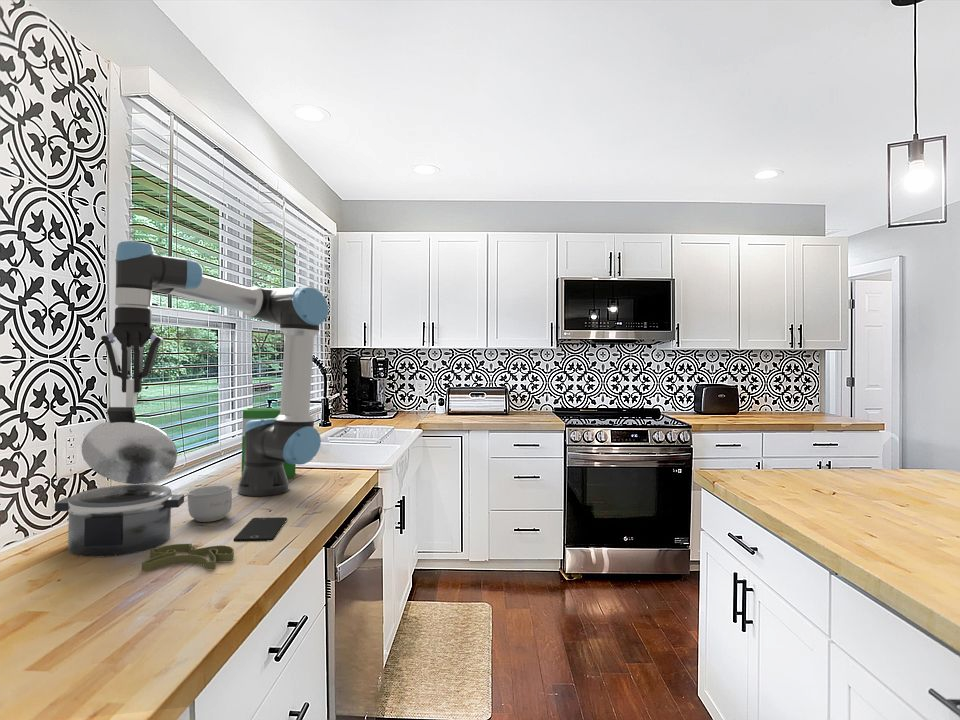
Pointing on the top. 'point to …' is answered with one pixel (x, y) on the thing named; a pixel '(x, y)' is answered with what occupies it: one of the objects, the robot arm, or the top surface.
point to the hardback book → (259, 415)
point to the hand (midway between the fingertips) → (131, 406)
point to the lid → (128, 449)
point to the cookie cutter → (187, 556)
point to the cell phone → (261, 529)
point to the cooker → (119, 519)
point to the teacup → (210, 502)
